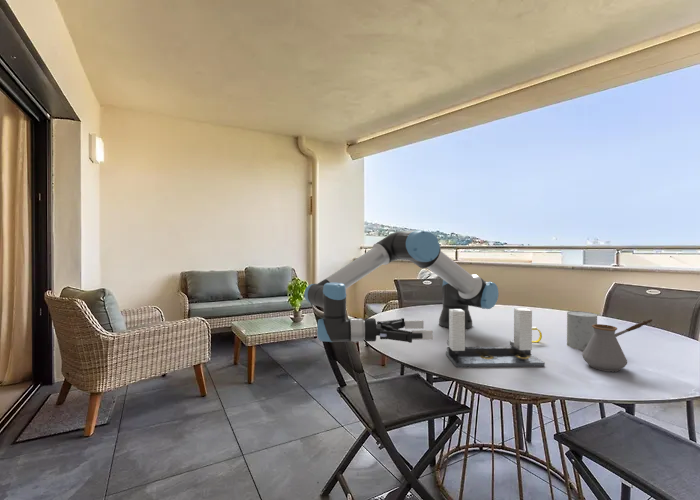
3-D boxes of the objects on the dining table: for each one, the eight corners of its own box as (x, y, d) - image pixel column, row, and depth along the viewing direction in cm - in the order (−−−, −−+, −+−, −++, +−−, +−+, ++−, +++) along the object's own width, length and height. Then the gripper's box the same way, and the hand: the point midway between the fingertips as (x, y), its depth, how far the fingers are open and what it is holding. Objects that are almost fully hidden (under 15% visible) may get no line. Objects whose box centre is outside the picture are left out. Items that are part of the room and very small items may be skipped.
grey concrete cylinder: (564, 346, 130) (564, 314, 130) (569, 341, 137) (569, 310, 137) (594, 352, 124) (595, 317, 123) (599, 345, 131) (599, 313, 130)
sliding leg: (445, 349, 123) (445, 306, 122) (457, 349, 123) (457, 306, 122) (452, 357, 115) (452, 311, 114) (464, 357, 115) (464, 311, 114)
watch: (526, 343, 136) (525, 328, 135) (524, 341, 138) (523, 326, 138) (543, 343, 135) (542, 327, 135) (540, 340, 138) (539, 326, 137)
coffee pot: (599, 374, 104) (599, 324, 103) (573, 361, 115) (574, 316, 115) (670, 373, 104) (671, 323, 103) (638, 360, 115) (638, 315, 115)
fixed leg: (508, 349, 123) (508, 306, 122) (519, 348, 123) (520, 306, 122) (519, 356, 115) (519, 310, 114) (531, 356, 114) (532, 310, 114)
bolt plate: (446, 354, 123) (445, 345, 122) (525, 353, 123) (525, 344, 122) (456, 367, 111) (456, 357, 110) (544, 366, 111) (544, 356, 110)
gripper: (362, 331, 129) (420, 330, 129) (365, 353, 104) (436, 352, 104) (362, 311, 129) (420, 310, 129) (365, 328, 104) (436, 327, 104)
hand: (427, 329), depth 116 cm, fingers open, 13 cm apart
